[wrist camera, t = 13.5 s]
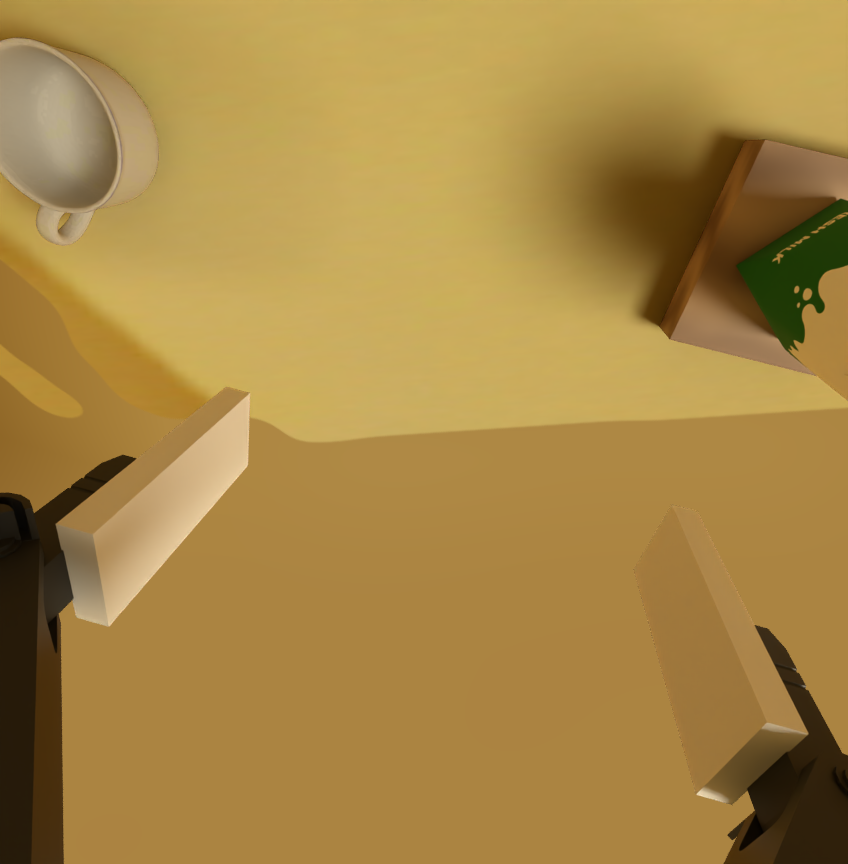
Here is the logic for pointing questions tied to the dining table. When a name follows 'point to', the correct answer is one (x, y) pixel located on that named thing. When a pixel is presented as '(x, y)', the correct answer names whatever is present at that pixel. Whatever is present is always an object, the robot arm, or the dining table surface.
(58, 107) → the teacup
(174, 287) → the dining table surface
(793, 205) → the plinth
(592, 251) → the dining table surface
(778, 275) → the soya milk
